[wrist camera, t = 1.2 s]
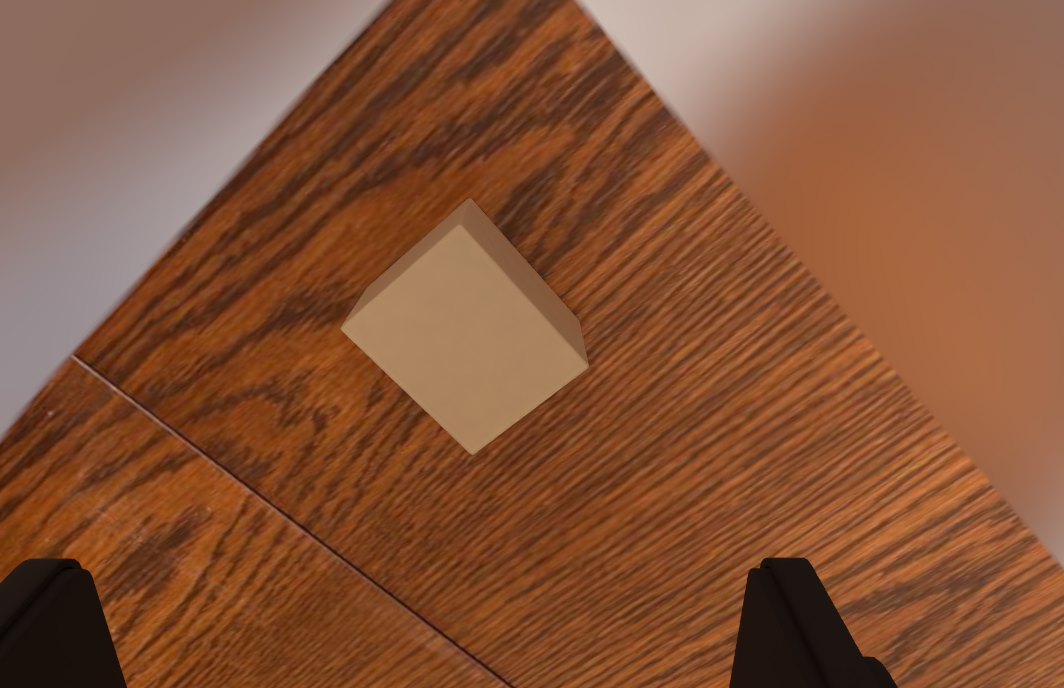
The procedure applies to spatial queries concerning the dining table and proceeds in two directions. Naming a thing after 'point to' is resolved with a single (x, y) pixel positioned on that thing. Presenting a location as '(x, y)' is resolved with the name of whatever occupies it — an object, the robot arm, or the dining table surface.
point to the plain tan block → (469, 329)
